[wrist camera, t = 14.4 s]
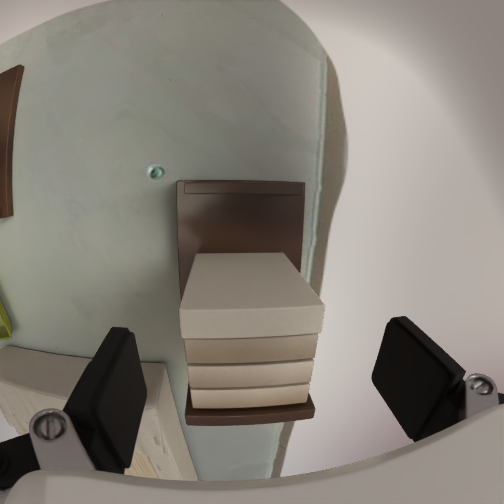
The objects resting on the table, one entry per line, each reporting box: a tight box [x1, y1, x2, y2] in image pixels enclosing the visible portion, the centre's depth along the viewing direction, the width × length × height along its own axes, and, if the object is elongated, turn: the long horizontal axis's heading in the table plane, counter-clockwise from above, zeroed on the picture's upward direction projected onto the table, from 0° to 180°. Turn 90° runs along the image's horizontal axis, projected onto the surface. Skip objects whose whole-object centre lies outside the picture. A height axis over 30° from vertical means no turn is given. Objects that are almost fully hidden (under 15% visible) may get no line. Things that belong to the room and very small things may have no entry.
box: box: [0, 346, 199, 481], centre depth 25 cm, size 23×8×32 cm
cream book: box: [179, 253, 325, 339], centre depth 18 cm, size 2×7×10 cm, turn 89°
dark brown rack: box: [177, 180, 318, 426], centre depth 18 cm, size 14×10×11 cm
